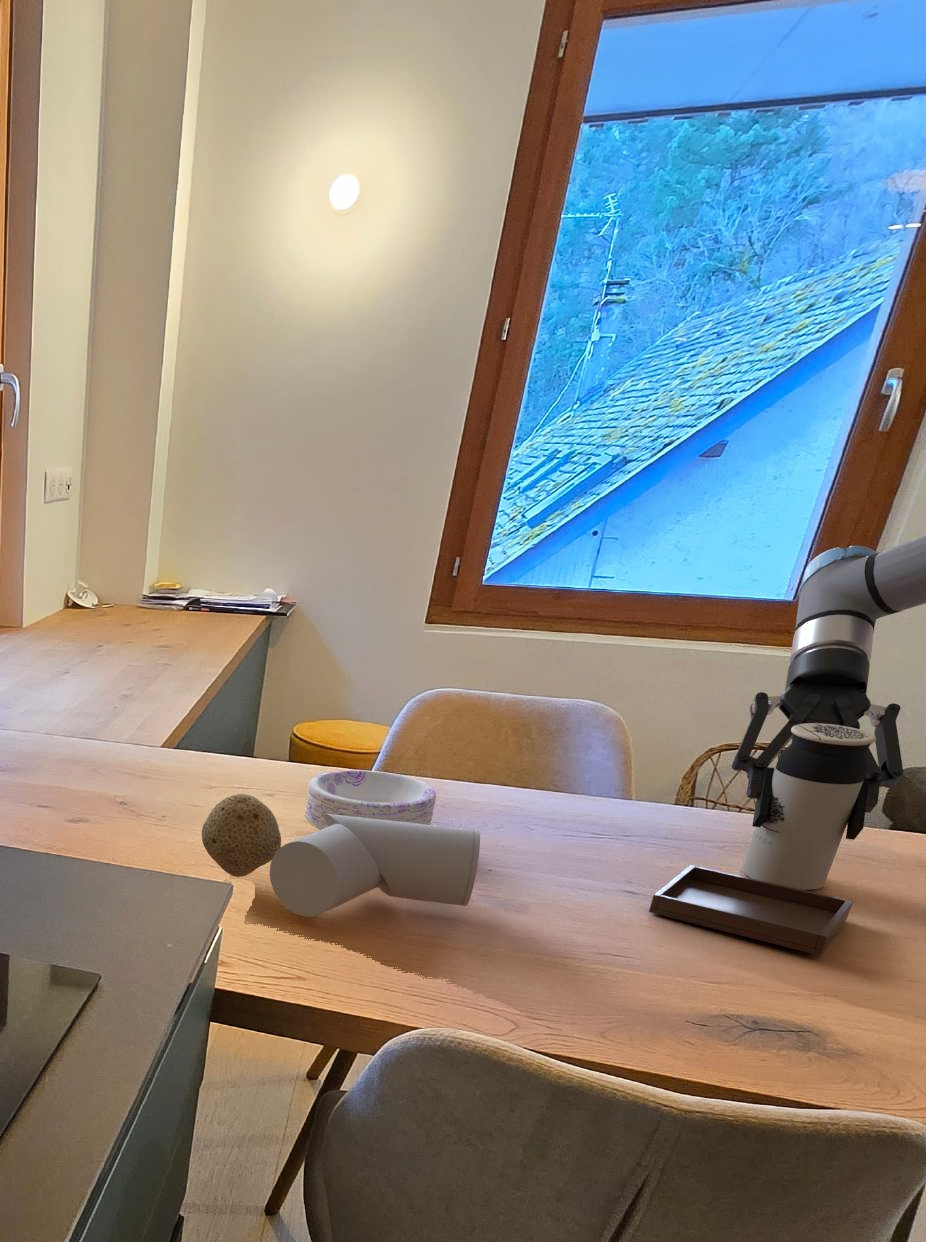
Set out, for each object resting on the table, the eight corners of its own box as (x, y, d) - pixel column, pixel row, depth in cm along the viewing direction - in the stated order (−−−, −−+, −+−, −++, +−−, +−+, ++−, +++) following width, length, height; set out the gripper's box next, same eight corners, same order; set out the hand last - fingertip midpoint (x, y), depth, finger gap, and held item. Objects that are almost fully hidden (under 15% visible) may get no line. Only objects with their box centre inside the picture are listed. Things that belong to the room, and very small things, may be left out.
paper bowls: (337, 814, 145) (346, 759, 142) (446, 843, 135) (458, 784, 131) (278, 843, 136) (286, 785, 132) (390, 876, 126) (401, 814, 122)
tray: (846, 918, 113) (853, 901, 113) (820, 955, 104) (827, 936, 104) (685, 881, 124) (690, 864, 123) (648, 912, 115) (653, 894, 114)
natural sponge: (180, 868, 126) (187, 791, 122) (234, 853, 131) (242, 777, 126) (234, 895, 119) (244, 813, 115) (289, 878, 123) (300, 799, 119)
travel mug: (811, 870, 126) (865, 725, 118) (833, 896, 119) (891, 744, 111) (733, 862, 129) (780, 719, 121) (750, 887, 122) (801, 738, 114)
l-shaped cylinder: (350, 841, 129) (250, 885, 117) (381, 766, 122) (279, 804, 111) (481, 916, 118) (386, 972, 107) (523, 838, 112) (426, 888, 101)
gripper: (927, 691, 123) (910, 858, 117) (716, 675, 133) (689, 828, 126) (956, 651, 117) (940, 826, 110) (732, 637, 127) (705, 797, 120)
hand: (806, 827), depth 118 cm, fingers closed on travel mug, 8 cm apart
